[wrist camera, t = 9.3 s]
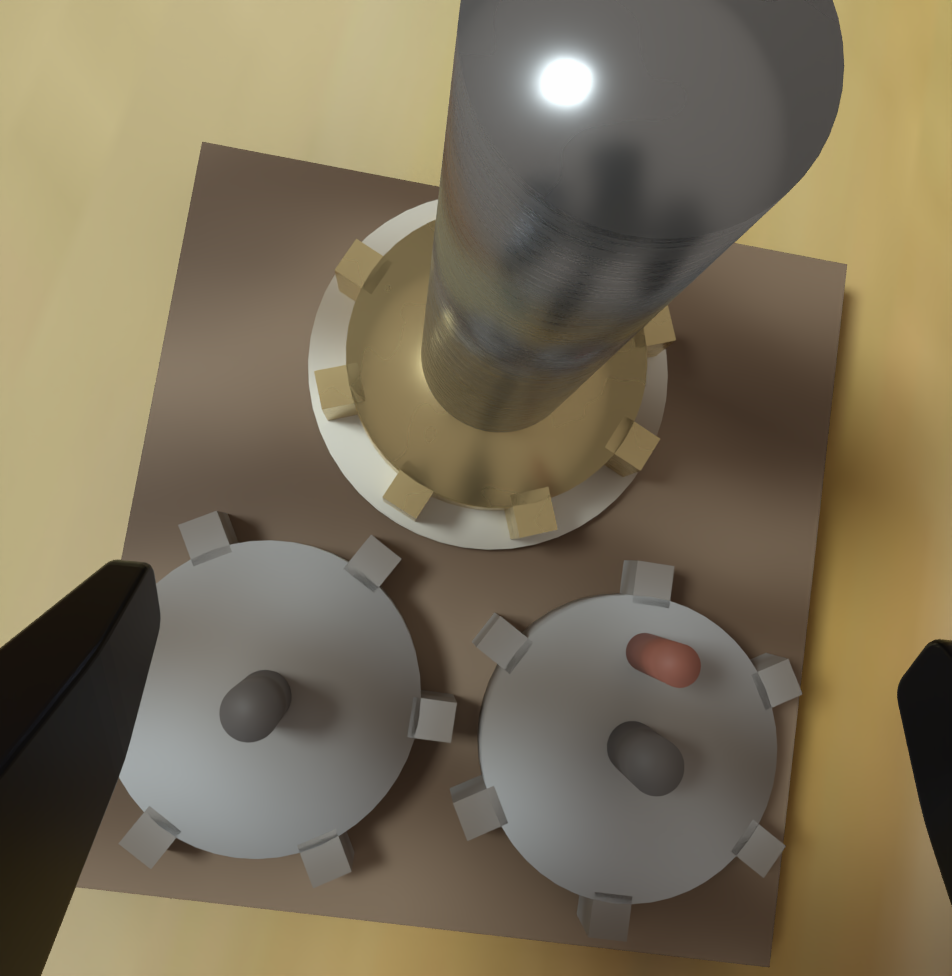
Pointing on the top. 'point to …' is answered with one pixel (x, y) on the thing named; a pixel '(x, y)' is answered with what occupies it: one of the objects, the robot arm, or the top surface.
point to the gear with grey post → (572, 235)
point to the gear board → (466, 613)
